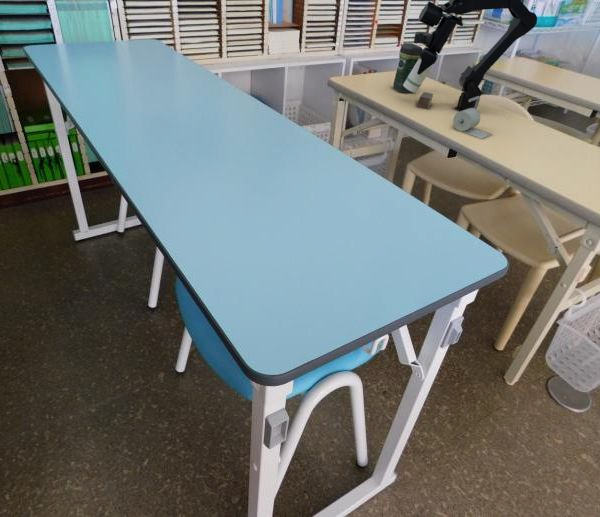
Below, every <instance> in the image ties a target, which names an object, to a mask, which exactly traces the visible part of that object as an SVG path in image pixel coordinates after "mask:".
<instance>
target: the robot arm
mask: <svg viewBox="0 0 600 517" xmlns="http://www.w3.org/2000/svg"><path fill="white" fill-rule="evenodd" d="M503 9H507V10H508V11H509V13H510V15H511V17H512V18H513V19H512V20H511V21H510V23H509V25H508V27H507V30H506V32H505V33H504V34H503V35H502V36H501V37H500V38H499V40H497V42H496V43H495V44H494V45H493V46H492V47H491V48H490V50H488V52H487V53H486V54H485V55H484V56H483V57H482V58H481V59H480V60H479V61H478V63H477V64H475V65H474V66H470V65H467V67H466V68H465V70H464V71H463V72H461V73H460V75H461V76H460V77H459V79H458V84H459V86H460V87H461V93H460V95H459V97H458V100H457V103H456V104H457V105H456V106H455V107H454V109H455V110H457V111H459V112H460V111H463V110H466V109H469V108H474V107H475V104H476V101H477V100H474V101H471V102H469V101H468V100H469V99H471V98H474V97H477V96H479V97H480V98H481V96H482V95H483V91H482V90H481V89H480V87H479V86H480V85H481V83H482V82H483V79H484V78H485V76H486V73H487V72H488V71H489V70H490V69H491V68H492V67H493V66H494V65H495V63H496V62H497V61H498V60H499V59H500V58H501V57H502V56H503V55H504V54H505V53H506V51H507V50H509V48H511V46H512V45H513V44H514V43H515V42H516V41H517V40H518V39H520V38H522V37H524V36H525V35H526V34H528V33H529V32H530V31H531V30H533V29H534V28H535V26H537V23H538V16H537V14H536V13H535V12H533V11H530V10H529V8H528V7H527V6H526V5H525V4H524V2H522V0H449V1H447V2H445V3H444V4H442V5H440V6H438V5H436V4H434V3H433V2H432V1H431V0H428V1H427V3H426V4H425V5H424V7H423V8H422V9H421V11H420V13H419V15H418V22H420V23H422V24H424V25H426V26H428V27H430V28H434V27H436V28H435V29H434V30H433V31H432V32H431V33H430V32H427V31H426V32H424V31H416V32H415V34H414V37H413V44H415V45H417V44H422V45H424V48H422V49H423V50H422V52H421V54H420V55H419V56H420V57H421V64H420V66H419V69H418V72H417V74H418V75H420V74H421V73H422V72H424V71H425V70H426V69H427V68H429V67H430V66H431V65H432V66H433V65H434V64H435V63H436V62H437V60H438V59H439V54H441V52H442V51H443V48H444V46H445V45H446V44H447V42H448V40H449V39H450V36H452V33H453V31H454V30H455V28H456V27H457V25H458V26H460V27H463V26H464V23H463V17H462V15H465V14H469V13H471V12H475V11H486V10H503ZM459 15H460V16H459Z"/></svg>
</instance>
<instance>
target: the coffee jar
mask: <svg viewBox="0 0 600 517" xmlns="http://www.w3.org/2000/svg"><path fill="white" fill-rule="evenodd" d="M423 49H424V48H422V47H421V46H419V45H417V44H416V43H412V42H404V43H402V44H401V45H400V49H399V53H398V54H399V56H398V62H397V67H396V73H395V76H394V78H393V79H394V80H393V84H392V88H393V90H396V91H397V92H401V93H406V94H410V93H412V92H411V91H409V90H408V89H406V88H405V87H404V86H403V84H404V82H405V81H406V79H407V77H408V76H409V74H410V73H411V71H412V69H413V68H414V66H415V64H416V63H417V61H418V59H419V58H420V59H421V57H420V56H419V55H420V54H421V52H422V50H423Z"/></svg>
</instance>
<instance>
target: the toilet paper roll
mask: <svg viewBox="0 0 600 517" xmlns="http://www.w3.org/2000/svg"><path fill="white" fill-rule="evenodd" d="M474 100H477V101H476V104H475V107H474V108H469V109H466V110H463V111H460V110H459V111H458V112H457V113H456V114H455V115H454V116H453V119H452V123H453V126H454V129H456V131H459V132H463V133H465V134H468V135H470V136H474V137H476V138H479V139H483V138H485V137H488V136H490V135H491V134H490V133H488V132H484V131H481V130H480V129H476V128H474V127H476V126H478V125H479V124H480V122H481V113H480V111H479V110H478V107H479V104H480V100H481V96H480V97H479V96H477V97H474V98H471V99H469V100H468V101H469V102H471V101H474Z"/></svg>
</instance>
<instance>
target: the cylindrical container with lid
mask: <svg viewBox="0 0 600 517" xmlns="http://www.w3.org/2000/svg"><path fill="white" fill-rule="evenodd" d="M420 64H421V59H420V58H419V59H418V61H417V63H416V64H415V66H414V68H413V69H412V71H411V73H410V74H409V76H408V77H407V79H406V81H405V82H404V84H403V86H404V87H405V88H406V89H408V90H409V91H411V92H410V93H414V94H416V93H417V92H418V90H419V88H420V87H421V86H422V84H423V82H424V81H425V79H426V78H427V76H428V75H429V73H430V71H431V70H432V69H433V65H431V66H430V67H429V68H427V69H426V70H425V71H424V72H422V73H421V74H420V75H418V74H417V72H418V69H419V66H420Z"/></svg>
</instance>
